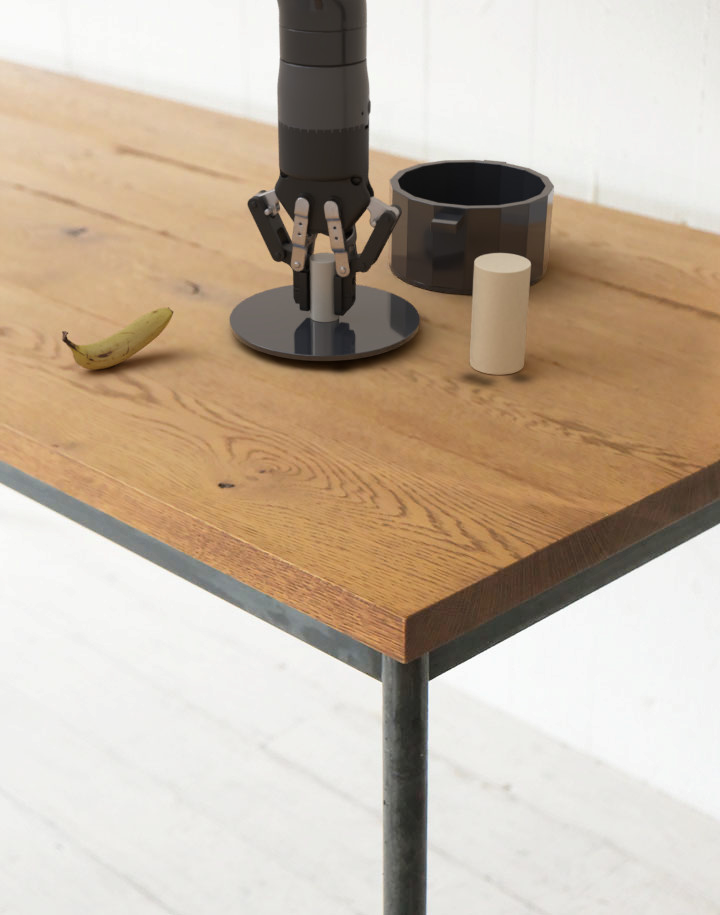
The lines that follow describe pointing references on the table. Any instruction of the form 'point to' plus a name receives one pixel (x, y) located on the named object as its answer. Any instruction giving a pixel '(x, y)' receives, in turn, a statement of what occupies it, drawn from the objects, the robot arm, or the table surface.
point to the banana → (121, 341)
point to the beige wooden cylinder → (499, 313)
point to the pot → (467, 220)
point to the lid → (324, 320)
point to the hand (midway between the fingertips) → (324, 309)
